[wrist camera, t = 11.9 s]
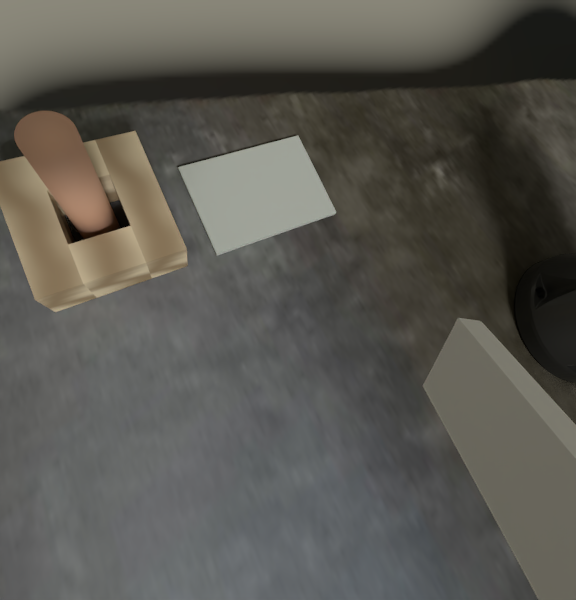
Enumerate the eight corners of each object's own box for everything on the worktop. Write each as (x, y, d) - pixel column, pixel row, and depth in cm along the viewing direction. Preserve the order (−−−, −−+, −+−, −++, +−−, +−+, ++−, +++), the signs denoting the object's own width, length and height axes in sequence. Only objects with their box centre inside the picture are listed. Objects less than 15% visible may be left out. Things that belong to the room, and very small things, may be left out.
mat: (297, 137, 44) (298, 135, 43) (335, 214, 42) (336, 212, 42) (178, 169, 39) (178, 167, 39) (216, 255, 38) (216, 254, 38)
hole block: (141, 160, 39) (135, 130, 34) (187, 265, 37) (186, 248, 33) (10, 193, 35) (-15, 164, 31) (55, 312, 33) (35, 299, 29)
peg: (112, 209, 37) (67, 105, 23) (126, 240, 36) (86, 152, 23) (75, 220, 36) (5, 117, 22) (88, 252, 35) (25, 167, 22)
